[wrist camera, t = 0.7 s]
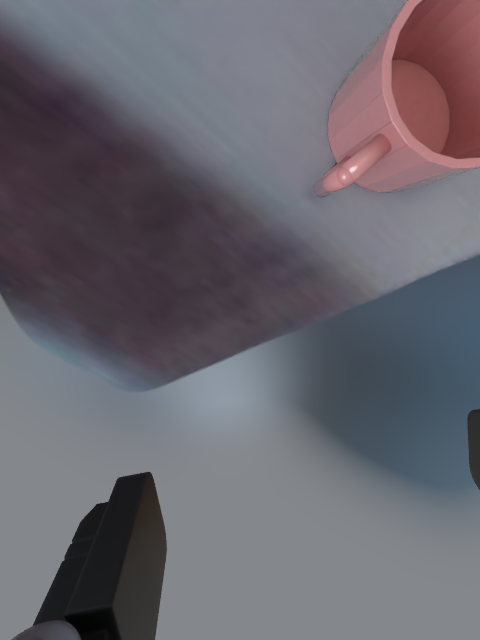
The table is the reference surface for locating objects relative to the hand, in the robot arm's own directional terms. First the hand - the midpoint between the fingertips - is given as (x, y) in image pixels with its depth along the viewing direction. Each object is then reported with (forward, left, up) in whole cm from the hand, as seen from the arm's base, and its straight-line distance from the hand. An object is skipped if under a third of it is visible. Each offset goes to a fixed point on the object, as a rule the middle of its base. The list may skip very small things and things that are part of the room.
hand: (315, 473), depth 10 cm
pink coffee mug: (-12, +15, -27) cm, 33 cm away
